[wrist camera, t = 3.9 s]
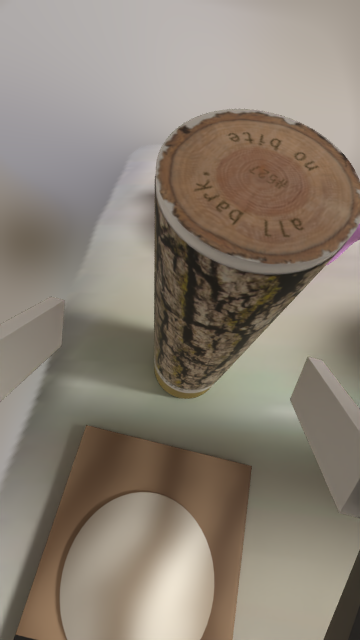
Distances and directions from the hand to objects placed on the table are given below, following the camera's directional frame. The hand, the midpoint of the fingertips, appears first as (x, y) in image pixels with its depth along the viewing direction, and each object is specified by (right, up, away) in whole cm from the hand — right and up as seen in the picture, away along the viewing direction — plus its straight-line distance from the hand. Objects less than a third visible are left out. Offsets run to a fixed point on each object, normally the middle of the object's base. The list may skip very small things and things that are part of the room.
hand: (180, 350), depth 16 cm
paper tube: (+1, -4, +17) cm, 17 cm away
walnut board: (-3, -20, +9) cm, 22 cm away
